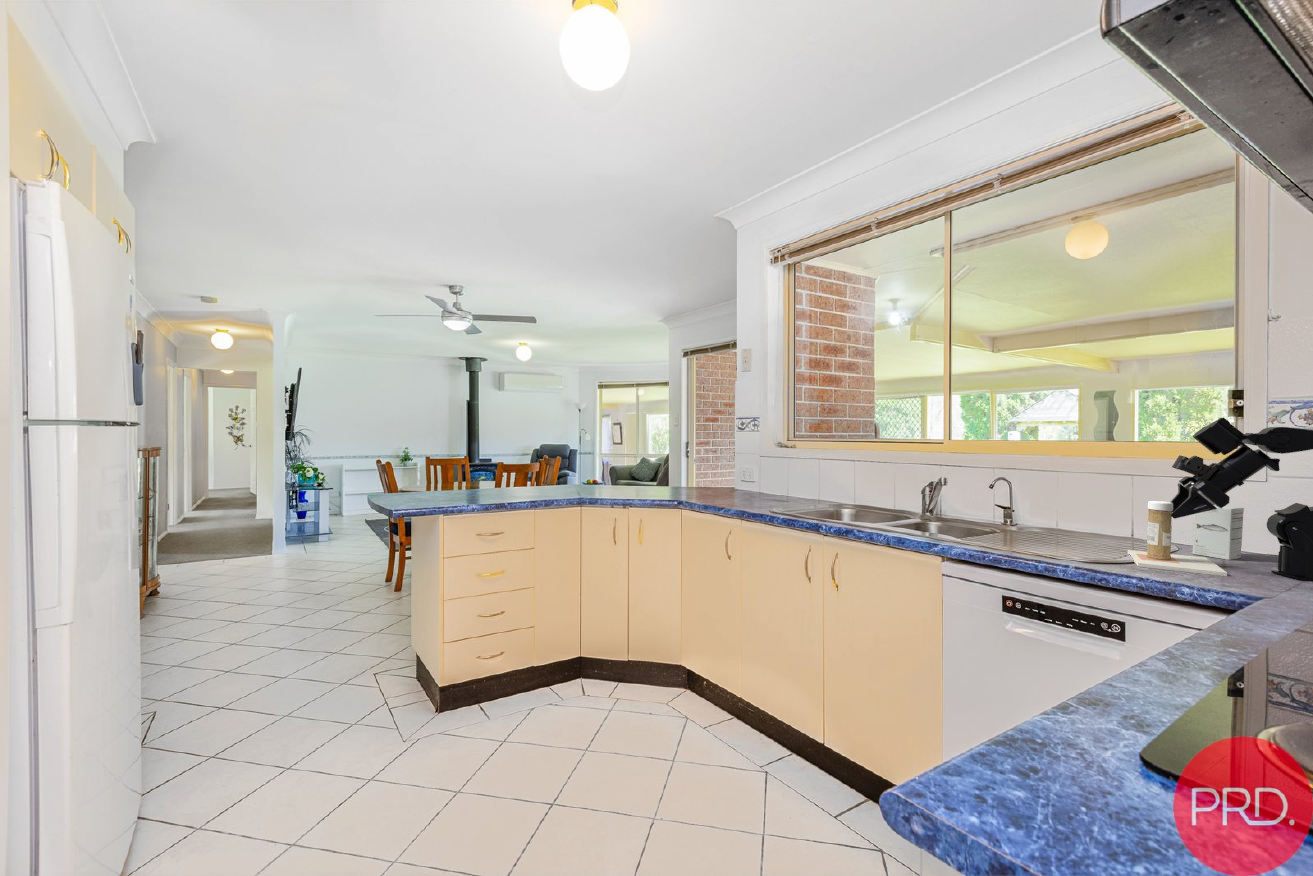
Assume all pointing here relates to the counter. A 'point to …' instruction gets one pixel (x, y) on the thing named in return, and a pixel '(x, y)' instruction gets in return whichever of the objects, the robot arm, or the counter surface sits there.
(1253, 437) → the robot arm
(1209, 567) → the mat
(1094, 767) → the counter surface
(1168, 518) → the sprinkles bottle
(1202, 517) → the supplement box
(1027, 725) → the counter surface
